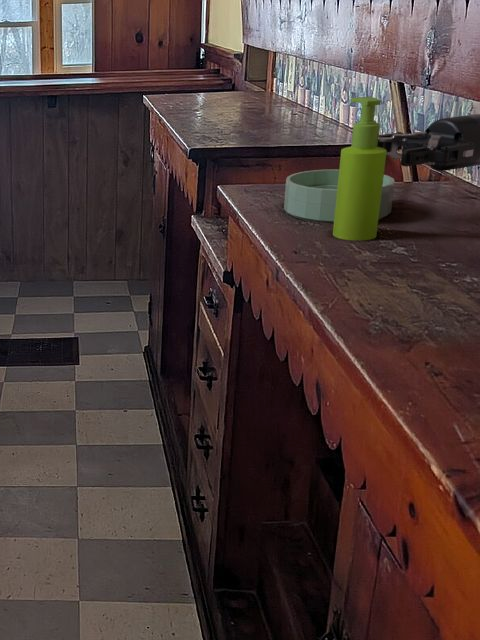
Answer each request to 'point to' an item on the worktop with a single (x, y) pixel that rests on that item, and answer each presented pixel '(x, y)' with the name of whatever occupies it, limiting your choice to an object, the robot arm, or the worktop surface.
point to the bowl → (324, 195)
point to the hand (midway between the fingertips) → (379, 154)
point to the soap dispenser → (360, 178)
